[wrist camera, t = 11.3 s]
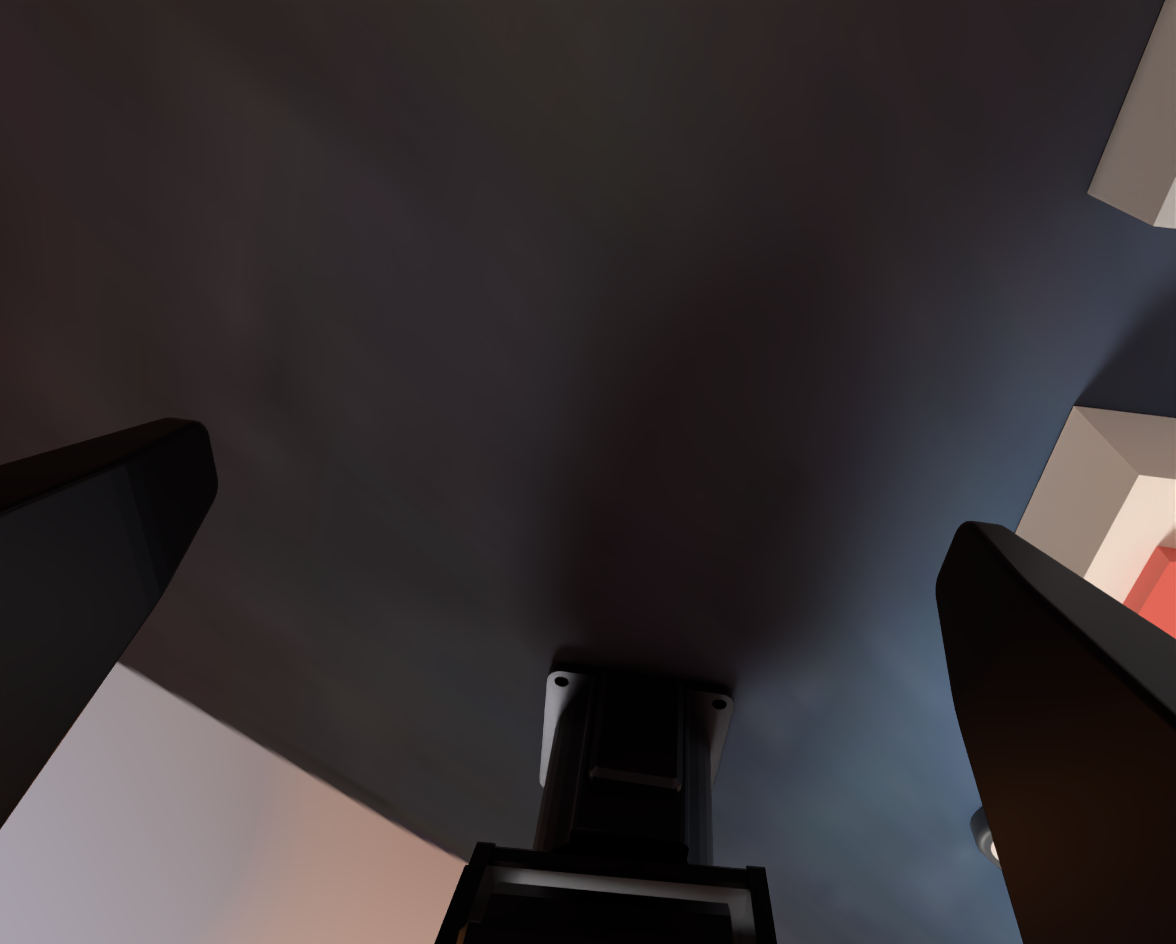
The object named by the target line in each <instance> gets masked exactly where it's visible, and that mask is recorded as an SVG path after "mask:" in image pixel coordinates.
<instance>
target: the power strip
mask: <svg viewBox="0 0 1176 944" xmlns="http://www.w3.org/2000/svg"><path fill="white" fill-rule="evenodd" d="M1015 534H1016V535H1018V536H1019V537H1021V538H1022V539H1024V540H1026V541H1027V542H1029V543H1030V544H1032V545H1033V546H1035V547H1036V548H1038V549H1039V550H1041V551H1042V552H1044V553H1045V554H1047V555H1048V556H1050V557H1052V558H1053V559H1055V560H1056V561H1058V562H1059V563H1061V564H1062V565H1064V566H1065V567H1067V568H1068V569H1070V570H1071V571H1073V572H1074V573H1076V574H1077V575H1079V576H1081V577H1082V578H1084V579H1085V580H1087V581H1088V582H1090V583H1091V584H1093V585H1094V586H1096V587H1097V588H1099V589H1100V590H1102V591H1103V592H1105V593H1107V594H1108V595H1110V596H1111V597H1113V598H1114V599H1116V600H1117V601H1119V602H1120V603H1122V604H1123V605H1125V606H1126V607H1128V608H1129V609H1131V610H1133V611H1134V612H1136V613H1137V614H1139V615H1140V616H1142V617H1143V618H1145V619H1146V620H1148V621H1149V622H1151V623H1152V624H1154V625H1155V626H1157V627H1159V628H1160V629H1162V630H1163V631H1165V632H1166V633H1168V634H1169V635H1171V636H1172V637H1174V638H1175V639H1176V418H1170V417H1162V416H1154V415H1146V414H1137V413H1129V412H1121V411H1113V410H1104V409H1096V408H1088V407H1080V406H1073V409H1072V411H1071V413H1070V415H1069V417H1068V419H1067V422H1066V424H1065V426H1064V428H1063V430H1062V432H1061V435H1060V437H1059V439H1058V441H1057V443H1056V445H1055V448H1054V450H1053V452H1052V454H1051V456H1050V458H1049V461H1048V463H1047V465H1046V467H1045V469H1044V471H1043V474H1042V476H1041V478H1040V480H1039V482H1038V484H1037V487H1036V489H1035V491H1034V493H1033V495H1032V497H1031V500H1030V502H1029V504H1028V506H1027V508H1026V510H1025V513H1024V515H1023V517H1022V519H1021V521H1020V523H1019V526H1018V528H1017V530H1016V532H1015Z"/></svg>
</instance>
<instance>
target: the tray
mask: <svg viewBox="0 0 1176 944" xmlns="http://www.w3.org/2000/svg"><path fill="white" fill-rule="evenodd" d="M1087 194H1089V195H1091V196H1093V197H1095V198H1097V199H1099V200H1101V201H1103V202H1105V203H1107V204H1109V205H1111V206H1113V207H1115V208H1117V209H1119V210H1121V211H1123V212H1125V213H1127V214H1129V215H1131V216H1134V217H1136V218H1138V219H1140V220H1142V221H1144V222H1146V223H1148V224H1150V225H1152V226H1157V227H1166V228H1176V0H1165V2H1164V5H1163V7H1162V9H1161V12H1160V14H1159V17H1158V19H1157V22H1156V24H1155V27H1154V29H1153V32H1152V34H1151V37H1150V39H1149V41H1148V44H1147V46H1146V49H1145V51H1144V54H1143V56H1142V59H1141V61H1140V64H1139V66H1138V69H1137V71H1136V74H1135V76H1134V78H1133V81H1132V83H1131V86H1130V88H1129V91H1128V93H1127V96H1126V98H1125V101H1124V103H1123V106H1122V108H1121V110H1120V113H1119V115H1118V118H1117V120H1116V123H1115V125H1114V128H1113V130H1112V133H1111V135H1110V138H1109V140H1108V142H1107V145H1106V147H1105V150H1104V152H1103V155H1102V157H1101V160H1100V162H1099V165H1098V167H1097V170H1096V172H1095V175H1094V177H1093V179H1092V182H1091V184H1090V187H1089V189H1088V192H1087Z"/></svg>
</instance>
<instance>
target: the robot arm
mask: <svg viewBox="0 0 1176 944" xmlns="http://www.w3.org/2000/svg"><path fill="white" fill-rule="evenodd" d="M217 489H218V477H217V472H216V467H215V463H214V458H213V453H212V448H211V443H210V438H209V434H208V431H207V429H206V427H205V426H204V425H203V424H202V423H200V422H198V421H194V420H187V419H179V418H163V419H159V420H156V421H153V422H149V423H146V424H142V425H139V426H135V427H132V428H128V429H125V430H121V431H118V432H114V433H111V434H107V435H104V436H100V437H97V438H93V439H90V440H86V441H83V442H79V443H76V444H72V445H69V446H65V447H62V448H58V449H55V450H52V451H48V452H45V453H41V454H38V455H34V456H31V457H27V458H24V459H20V460H17V461H13V462H10V463H6V464H3V465H0V829H1V828H2V826H3V825H4V823H5V822H6V821H7V819H8V817H9V816H10V815H11V813H12V812H13V810H14V809H15V808H16V806H17V805H18V803H19V802H20V800H21V799H22V798H23V796H24V795H25V793H26V792H27V790H28V789H29V788H30V786H31V785H32V783H33V782H34V780H35V779H36V777H37V776H38V774H39V773H40V772H41V770H42V769H43V767H44V766H45V764H46V763H47V762H48V760H49V759H50V757H51V756H52V754H53V753H54V752H55V750H56V749H57V747H58V746H59V744H60V743H61V741H62V740H63V739H64V737H65V736H66V734H67V733H68V731H69V730H70V729H71V727H72V726H73V724H74V723H75V721H76V720H77V718H78V717H79V716H80V714H81V713H82V711H83V710H84V708H85V707H86V706H87V704H88V703H89V701H90V700H91V698H92V697H93V695H94V694H95V693H96V691H97V689H98V688H99V687H100V685H101V684H102V682H103V681H104V680H105V678H106V677H107V675H108V674H109V672H110V671H111V670H112V668H113V667H114V665H115V664H116V662H117V661H118V660H119V658H120V657H121V655H122V654H123V652H124V651H125V649H126V648H127V647H128V645H129V644H130V642H131V641H132V639H133V638H134V637H135V635H136V634H137V632H138V631H139V629H140V628H141V626H142V625H143V624H144V622H145V621H146V619H147V618H148V616H149V615H150V613H151V612H152V610H153V609H154V607H155V606H156V604H157V603H158V601H159V600H160V598H161V597H162V595H163V593H164V591H165V590H166V588H167V586H168V585H169V583H170V581H171V579H172V578H173V576H174V574H175V572H176V570H177V568H178V567H179V565H180V563H181V561H182V559H183V557H184V555H185V554H186V552H187V550H188V548H189V546H190V544H191V542H192V541H193V539H194V537H195V535H196V533H197V531H198V530H199V528H200V526H201V524H202V522H203V520H204V518H205V517H206V515H207V513H208V511H209V509H210V507H211V505H212V504H213V502H214V499H215V497H216V494H217ZM936 601H937V607H938V613H939V619H940V625H941V631H942V637H943V643H944V650H945V656H946V662H947V668H948V674H949V680H950V686H951V692H952V697H953V702H954V707H955V711H956V715H957V719H958V723H959V726H960V730H961V733H962V737H963V740H964V744H965V747H966V750H967V754H968V757H969V761H970V764H971V767H972V771H973V774H974V778H975V781H976V784H977V788H978V791H979V795H980V798H981V801H982V805H983V808H984V812H985V815H986V818H987V822H988V825H989V829H990V832H991V835H992V839H993V842H994V846H995V849H996V852H997V856H998V859H999V863H1000V866H1001V869H1002V873H1003V876H1004V880H1005V883H1006V886H1007V890H1008V893H1009V897H1010V900H1011V903H1012V907H1013V910H1014V914H1015V917H1016V920H1017V924H1018V927H1019V931H1020V934H1021V937H1022V941H1023V944H1176V639H1175V638H1174V637H1172V636H1171V635H1169V634H1168V633H1166V632H1165V631H1163V630H1162V629H1160V628H1159V627H1157V626H1155V625H1154V624H1152V623H1151V622H1149V621H1148V620H1146V619H1145V618H1143V617H1142V616H1140V615H1139V614H1137V613H1136V612H1134V611H1133V610H1131V609H1129V608H1128V607H1126V606H1125V605H1123V604H1122V603H1120V602H1119V601H1117V600H1116V599H1114V598H1113V597H1111V596H1110V595H1108V594H1107V593H1105V592H1103V591H1102V590H1100V589H1099V588H1097V587H1096V586H1094V585H1093V584H1091V583H1090V582H1088V581H1087V580H1085V579H1084V578H1082V577H1081V576H1079V575H1077V574H1076V573H1074V572H1073V571H1071V570H1070V569H1068V568H1067V567H1065V566H1064V565H1062V564H1061V563H1059V562H1058V561H1056V560H1055V559H1053V558H1052V557H1050V556H1048V555H1047V554H1045V553H1044V552H1042V551H1041V550H1039V549H1038V548H1036V547H1035V546H1033V545H1032V544H1030V543H1029V542H1027V541H1026V540H1024V539H1022V538H1021V537H1019V536H1018V535H1016V534H1015V533H1013V532H1012V531H1010V530H1009V529H1007V528H1006V527H1004V526H1002V525H998V524H992V523H984V522H976V521H966V522H964V523H963V524H961V525H960V527H959V528H958V529H957V531H956V533H955V535H954V538H953V540H952V543H951V545H950V547H949V550H948V552H947V555H946V557H945V560H944V562H943V564H942V567H941V569H940V572H939V574H938V577H937V582H936ZM558 676H563V677H565V678H560V677H558ZM716 699H722V701H717V700H716ZM733 708H734V698H733V692H732V691H731V690H730V689H729V688H727V687H725V686H721V685H714V684H707V683H700V682H693V681H686V680H679V679H672V678H665V677H658V676H651V675H645V674H638V673H631V672H624V671H617V670H610V669H603V668H596V667H589V666H582V665H575V664H568V663H557V664H554V665H553V666H552V667H550V670H549V674H548V679H547V690H546V703H545V716H544V729H543V742H542V755H541V768H540V784H541V785H542V786H543V787H544V791H543V796H542V801H541V807H540V812H539V817H538V823H537V828H536V834H535V839H534V844H533V850H531V849H520V848H508V847H497V846H496V844H495V843H488V842H477V844H476V847H475V849H474V852H473V855H472V857H471V860H470V862H469V865H465V867H464V869H463V872H462V874H461V877H460V879H459V882H458V884H457V887H456V890H455V892H454V895H453V897H452V900H451V902H450V905H449V908H448V910H447V913H446V915H445V918H444V920H443V923H442V925H441V928H440V931H439V933H438V936H437V938H436V941H435V943H434V944H777V940H776V934H775V928H774V921H773V915H772V908H771V902H770V896H769V889H768V883H767V877H766V870H765V867H757V866H746V869H742V868H731V867H720V866H713V835H712V797H711V792H712V788H713V784H714V780H715V776H716V773H717V769H718V765H719V761H720V757H721V754H722V750H723V746H724V742H725V738H726V735H727V731H728V727H729V723H730V719H731V716H732V712H733Z"/></svg>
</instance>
